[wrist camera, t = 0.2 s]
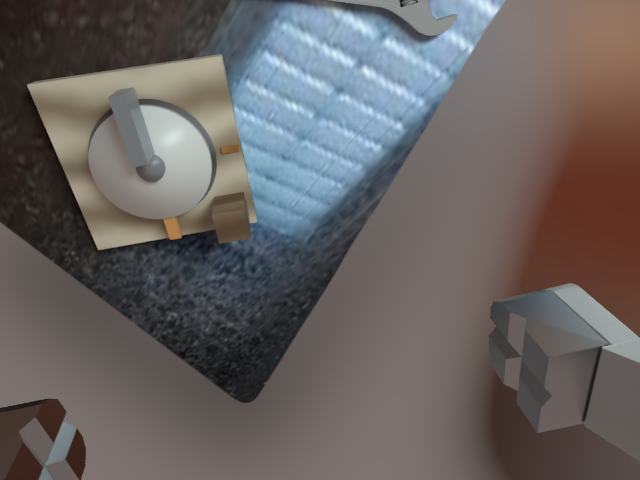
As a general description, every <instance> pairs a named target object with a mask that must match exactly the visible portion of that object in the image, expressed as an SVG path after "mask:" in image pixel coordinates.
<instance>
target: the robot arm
mask: <svg viewBox="0 0 640 480" xmlns="http://www.w3.org/2000/svg"><path fill="white" fill-rule="evenodd" d="M490 314H491V315H490V318H491V320H492V321H493V322H494V324H495V325H496V328H495V329H494V330H493V331H492V333H491V334H490V335H489V352H490V356H491V360H492V363H493V365H494V368H495V370H496V372H497V374H498V375H499V377H500V378H501V380H502V381H503V383H504V384H505V385H507V386H509V387H511V388H513V389H515V390H517V391H518V396H517V404H518V405H519V407H520V408H521V409H522V411H523V412H524V414H525V415H526V417H527V418H528V419H529V421H530V422H531V424H532V425H533V427H534V428H535V430H536V431H537V433H539V432H544V431H549V430H554V429H559V428H563V427H568V426H573V425H578V424H582V423H585V424H584V426H585V427H587V428H588V429H590V430H592V431H593V432H595V433H597V434H598V435H600V436H601V437H603V438H604V439H606V440H607V441H609V442H611V443H612V444H614V445H615V446H617V447H618V448H620V449H622V450H623V451H625V452H626V453H628V454H629V455H631V456H633V457H634V458H636V459H637V460H639V461H640V338H639V337H638V336H637V335H636V334H634V333H633V332H632V331H631V330H630V329H629V328H627V327H626V326H625V325H624V324H623V323H621V322H620V321H619V320H618V319H617V318H616V317H614V316H613V315H612V314H611V313H610V312H608V311H607V310H606V309H605V308H604V307H602V306H601V305H600V304H599V303H598V302H597V301H595V300H594V299H593V298H592V297H591V296H589V295H588V294H587V293H586V292H585V291H584V290H582V289H581V288H580V287H579V286H577V285H574V284H571V283H569V284H565V285H561V286H556V287H552V288H548V289H545V290H542V291H537V292H533V293H529V294H524V295H519V296H515V297H511V298H506V299H502V300H497V301H494V302H493V304H492V306H491V313H490ZM65 415H66V410H65V409H64V407H63V406H62V404H61V403H60V402H59V400H58V399H44V400H39V401H34V402H29V403H23V404H18V405H13V406H8V407H4V408H0V480H81V478H82V474H83V471H84V468H85V460H86V447H85V444H84V440H83V437H82V435H81V433H80V432H79V430H78V429H77V428H76V427H74V426H72V425H69V424H68V423H65V422H63V421H64V417H65Z"/></svg>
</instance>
